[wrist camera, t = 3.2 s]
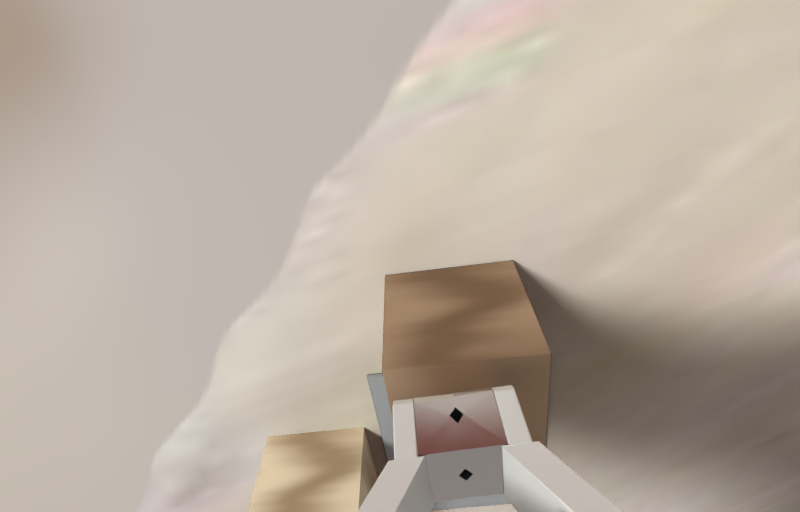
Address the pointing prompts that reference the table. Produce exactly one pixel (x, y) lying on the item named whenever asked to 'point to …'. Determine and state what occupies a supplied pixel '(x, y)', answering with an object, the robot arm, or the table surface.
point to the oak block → (314, 472)
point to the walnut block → (465, 337)
